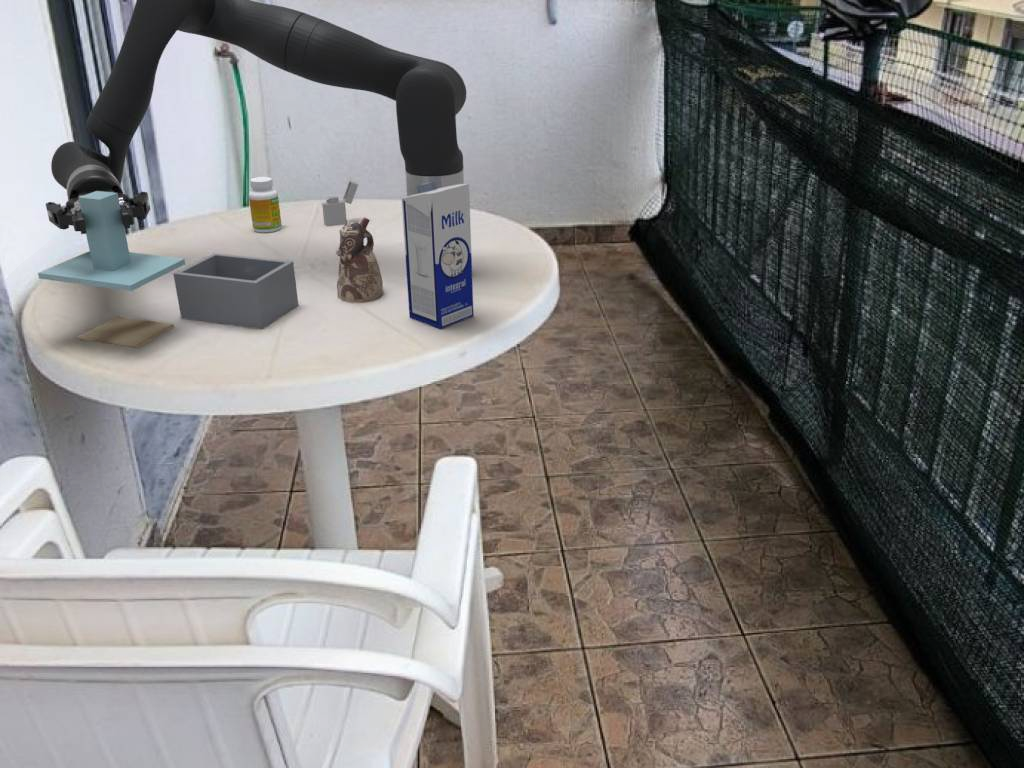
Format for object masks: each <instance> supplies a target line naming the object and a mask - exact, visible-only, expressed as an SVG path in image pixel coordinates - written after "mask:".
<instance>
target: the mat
mask: <svg viewBox="0 0 1024 768" xmlns="http://www.w3.org/2000/svg"><path fill="white" fill-rule="evenodd" d="M174 327H175V325H174V323H171V322H163V321H155V320H148V319H142V318H141V319H140V318H133V317H126V316H119V315H118V316H115V317H114V318H111V319H109V320H108V321H106V322H104V323H101V324H100V325H98V326H96V327H94V328H92V329H91V330H89V331H87V332H84V333H83V334H81V335H78V337H79V340H83V341H84V340H85V341H90V342H91V341H93V342H97V343H99V342H100V343H105V344H110V345H111V344H112V345H119V346H125V347H131V348H132V347H133V348H139V347H141V346H142V345H145V344H147V343H148V342H150V341H151V340H153V339H155V338H156V337H158V336H160V335H162V334H164V333H165V332H167V331H169V330H170V329H172V328H174Z"/></svg>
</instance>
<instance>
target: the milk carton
mask: <svg viewBox="0 0 1024 768" xmlns="http://www.w3.org/2000/svg"><path fill="white" fill-rule="evenodd" d="M416 187H417V191H418V194H415V195H411V196H407V195H406V196H404V197H401V198H400V199H401V208H402V209H401V210H402V223H403V236H404V237H403V238H404V240H403V241H404V253H405V268H406V271H405V272H406V282H407V300H408V312H409V314H408V315H409V319H412V320H415V321H418V322H420V323H422V324H425V325H427V326H431V327H434V328H436V329H438V330H441V329H444V328H447V327H449V326H452V325H455V324H457V323H459V322H462V321H464V320H467V319H469V318H472V317H474V292H473V286H474V285H473V261H472V260H473V259H472V258H473V257H472V237H471V236H472V233H471V231H472V230H471V206H470V203H471V201H470V198H471V197H470V183H464V184H457V185H452V186H448V187H443V188H438V189H437V185H436V181H435V182H430V183H425V184H422V185H418V186H416Z"/></svg>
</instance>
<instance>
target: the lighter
mask: <svg viewBox="0 0 1024 768" xmlns="http://www.w3.org/2000/svg"><path fill="white" fill-rule="evenodd" d="M358 187H359V184H358V183H357V182H356V181H353V180H349V181H348V183H347V188H346V189H345V192H344V195H343V198H342V199H339V197H338V195H337V196H329V197H328V198H326V200H325V201H326V202H325V201H324V202H322V203H321V206H322V215H323V224H324V226H325V225H326V227H333V225H334V226H339V225H340V224H341V225H345V224H346V223H347V222H348V219H347V210H346V203H347V204H350V205H352V203H353V201H354V197H355V195H356V191H357V189H358Z"/></svg>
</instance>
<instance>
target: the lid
mask: <svg viewBox="0 0 1024 768" xmlns="http://www.w3.org/2000/svg"><path fill="white" fill-rule="evenodd" d="M78 198H79V203H80V208H81V212H82V214H83V218H84V223H85V228H86V232H87V234H86V235H85V236H86V240H87V245H88V249H89V251H87V252H86V251H85V252H84V253H82V254H80V255H77V256H75V257H72V258H70V259H68V260H65V261H63V262H60V263H58V264H56V265H54V266H51V267H48V268H46V269H44V270H42V271H38V272H37V276H38V279H40V280H47V281H55V282H63V283H67V284H70V283H71V284H77V285H83V286H93V287H100V288H105V289H114V290H121V291H127V292H128V291H129V292H133V291H135V290H137V289H139V288H141V287H143V286H145V285H147V284H149V283H151V282H152V281H153V282H154V281H155V280H157V279H158V278H160V277H163V276H165V275H166V274H169V273H171V272H173V271H174V270H177V269H178V268H180V267H183V266H185V265H186V261H185V258H179V257H173V256H172V257H171V256H163V255H154V254H146V253H139V252H131V251H130V250H129V244H128V240H127V239H128V238H127V233H126V229H125V228H124V225H123V220H122V215H121V210H120V209H121V208H120V202H119V197H118V193H112V192H102V191H95V192H92V193H89V194H87V195H84V196H81V197H78Z"/></svg>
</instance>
